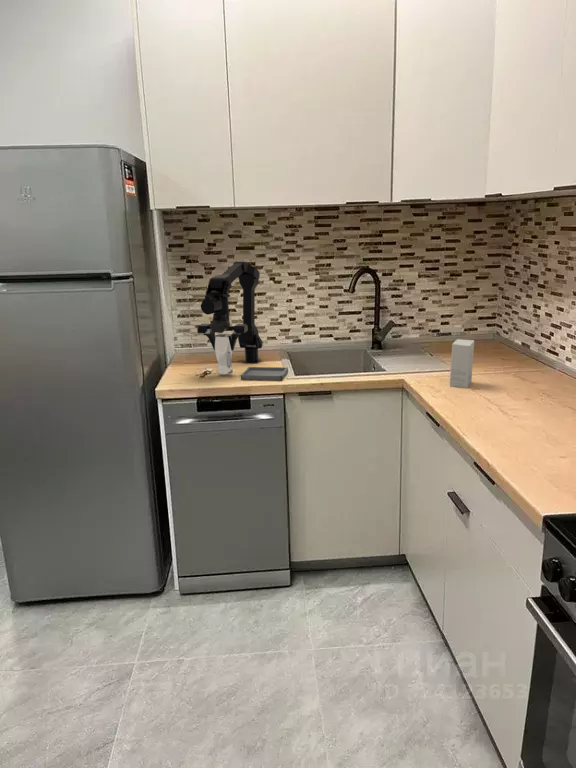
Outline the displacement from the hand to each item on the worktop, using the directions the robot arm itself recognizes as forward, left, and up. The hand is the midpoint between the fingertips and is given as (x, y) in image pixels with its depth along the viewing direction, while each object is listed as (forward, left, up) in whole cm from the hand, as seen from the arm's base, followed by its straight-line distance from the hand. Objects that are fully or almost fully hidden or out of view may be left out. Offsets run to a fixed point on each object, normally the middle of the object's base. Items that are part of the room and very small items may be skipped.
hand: (223, 350), depth 229 cm
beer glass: (0, 0, -9) cm, 9 cm away
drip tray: (0, +16, -10) cm, 19 cm away
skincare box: (+7, +89, -10) cm, 90 cm away
